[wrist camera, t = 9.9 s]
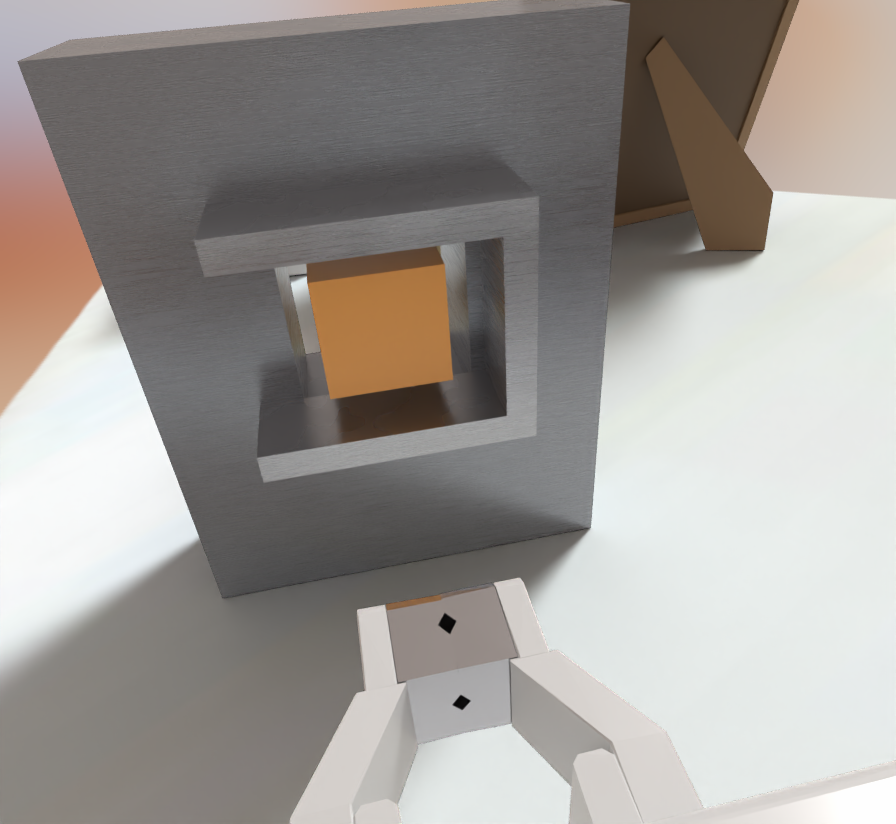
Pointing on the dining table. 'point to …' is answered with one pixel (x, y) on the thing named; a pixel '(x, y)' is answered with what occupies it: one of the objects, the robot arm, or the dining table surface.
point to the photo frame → (698, 114)
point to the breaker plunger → (382, 321)
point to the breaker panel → (250, 318)
